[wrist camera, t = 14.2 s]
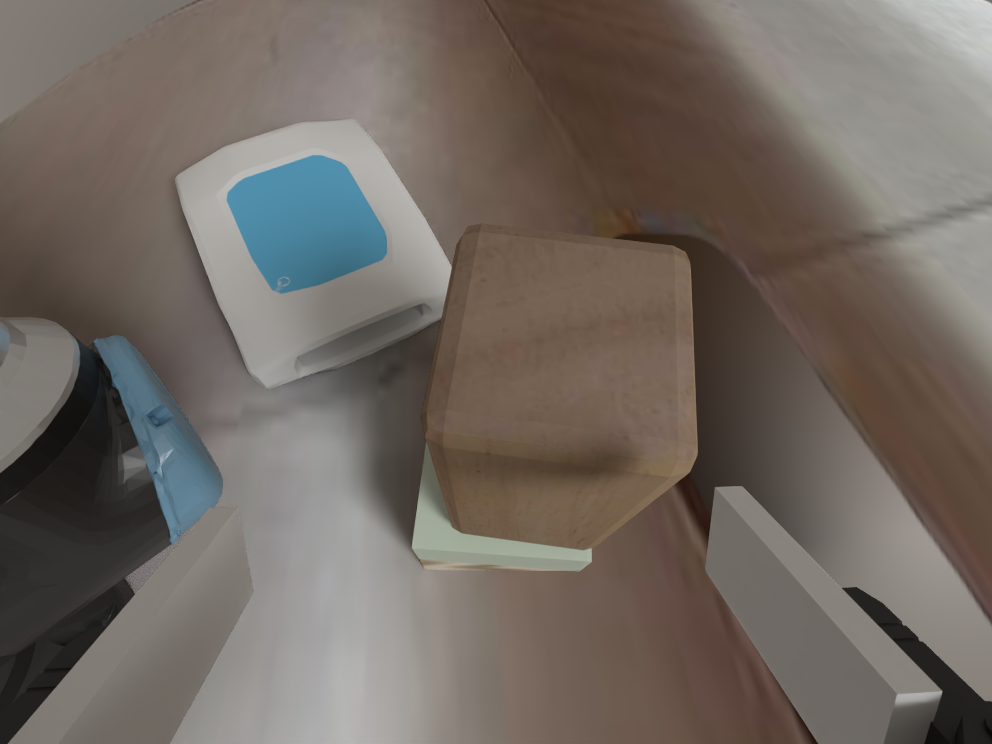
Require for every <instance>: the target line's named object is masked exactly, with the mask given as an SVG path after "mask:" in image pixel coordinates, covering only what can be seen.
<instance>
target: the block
mask: <svg viewBox="0 0 992 744" xmlns="http://www.w3.org/2000/svg"><path fill="white" fill-rule="evenodd" d="M692 319H693V318H692V292H691V272H690V261H689V259H688V257H687V255H686V253H685V251H682V250H680V249H678V248H676V247H674V246H671V245H663V244H654V243H645V242H637V241H628V240H619V239H611V238H602V237H594V236H585V235H576V234H568V233H559V232H550V231H542V230H533V229H524V228H516V227H507V226H499V225H490V224H477V225H473V226H468V227H467V229H466V230H465V232H464V233H463V235H462V237H461V238H460V240H459V242H458V243H457V245H456V250H455V255H454V260H453V265H452V269H451V274H450V279H449V284H448V289H447V293H446V298H445V303H444V308H443V313H442V318H441V322H440V327H439V332H438V337H437V342H436V347H435V351H434V356H433V361H432V366H431V371H430V375H429V380H428V385H427V390H426V395H425V400H424V404H423V409H422V414H421V421H422V425H423V430H424V434H425V438H426V442H427V445H428V448H429V452H430V455H431V458H432V462H433V465H434V469H435V472H436V475H437V479H438V482H439V485H440V489H441V492H442V496H443V499H444V502H445V506H446V509H447V512H448V516H449V519H450V523H451V526H452V528H454V529H455V530H457V531H459V532H460V533H462V534H469V535H476V536H483V537H490V538H498V539H505V540H512V541H519V542H526V543H534V544H541V545H548V546H555V547H562V548H570V549H577V550H586V549H590V548H593V547H595V546H597V545H598V544H599V543H600V542H602V541H603V540H604V539H605V538H607V537H608V536H609V535H611V534H612V533H613V532H614V531H616V530H617V529H618V528H619V527H621V526H622V525H623V524H624V523H626V522H627V521H628V520H630V519H631V518H632V517H633V516H635V515H636V514H637V513H638V512H640V511H641V510H642V509H644V508H645V507H646V506H647V505H649V504H650V503H651V502H652V501H654V500H655V499H656V498H657V497H659V496H660V495H661V494H663V493H664V492H665V491H666V490H668V489H669V488H670V487H671V486H673V485H674V484H675V483H677V482H678V481H679V480H680V479H682V478H683V477H684V476H685V475H687V474H688V473H689V472H690V471H691V469H692V466H693V464H694V461H695V459H696V457H697V454H698V447H697V422H696V421H697V420H696V398H695V397H696V396H695V369H694V344H693V320H692Z"/></svg>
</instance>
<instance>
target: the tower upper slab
mask: <svg viewBox="0 0 992 744" xmlns="http://www.w3.org/2000/svg"><path fill="white" fill-rule="evenodd" d="M412 549H413V551H414V552H415V554H416V555H417V557H418V558H419V559H422V560H435V561H449V562H462V563H475V564H488V565H502V566H515V567H528V568H541V569H555V570H568V571H581V570H582V569H583V568H584V567H586V566H587V565H588V564H589V563H591V562H592V549H591V548H590V549H586V550H577V549H570V548H562V547H555V546H548V545H541V544H534V543H526V542H519V541H512V540H505V539H498V538H490V537H483V536H476V535H469V534H462V533H460V532H459V531H457V530H455V529H454V528H452V526H451V523H450V519H449V516H448V512H447V509H446V506H445V502H444V499H443V496H442V492H441V489H440V485H439V482H438V479H437V475H436V472H435V469H434V465H433V462H432V458H431V455H430V452H429V448H428V445H427V442H426V446H425V453H424V461H423V468H422V475H421V483H420V490H419V497H418V505H417V512H416V519H415V527H414V534H413V541H412Z"/></svg>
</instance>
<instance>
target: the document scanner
mask: <svg viewBox="0 0 992 744" xmlns="http://www.w3.org/2000/svg"><path fill="white" fill-rule="evenodd" d="M175 184H176V188H177V191H178V195H179V198H180V202H181V205H182V209H183V212H184V214H185V217H186V220H187V222H188V225H189V228H190V230H191V233H192V236H193V238H194V241H195V244H196V246H197V249H198V251H199V254H200V257H201V259H202V262H203V265H204V267H205V270H206V273H207V275H208V278H209V280H210V283H211V286H212V288H213V291H214V294H215V296H216V299H217V302H218V304H219V306H220V308H221V310H222V312H223V314H224V316H225V318H226V320H227V322H228V324H229V326H230V328H231V330H232V332H233V335H234V337H235V340H236V342H237V345H238V347H239V350H240V353H241V355H242V358H243V360H244V363H245V365H246V368H247V370H248V372H249V373H250V375H251V376H252V377H253V378H254V379H255V381H256V382H257V383H258V384H259V385H260V386H262V387H264V388H266V389H268V390H271V389H273V388H276V387H278V386H280V385H283V384H285V383H288V382H290V381H293V380H296V379H300V378H303V377H307V376H310V375H314V374H317V373H320V372H324V371H326V370H336V369H338V368H341V367H343V366H345V365H348V364H350V363H352V362H354V361H357V360H359V359H361V358H364V357H366V356H368V355H370V354H373V353H375V352H377V351H379V350H382V349H384V348H386V347H389V346H391V345H393V344H395V343H398V342H400V341H402V340H404V339H407V338H409V337H411V336H413V335H415V334H417V333H418V332H420V331H421V330H423V329H425V328H426V327H428V326H430V325H431V324H433V323H435V322H436V321H438V320H440V319H441V318H442V313H443V308H444V303H445V298H446V293H447V289H448V284H449V279H450V274H451V269H452V266H451V265H450V263H449V261H448V259H447V257H446V256H445V254H444V252H443V250H442V248H441V247H440V245H439V243H438V241H437V239H436V238H435V236H434V234H433V232H432V230H431V229H430V227H429V225H428V223H427V221H426V220H425V218H424V216H423V215H422V213H421V212H420V210H419V209H418V207H417V206H416V204H415V202H414V201H413V199H412V198H411V196H410V195H409V193H408V192H407V190H406V188H405V187H404V185H403V184H402V182H401V181H400V179H399V178H398V176H397V174H396V173H395V171H394V170H393V168H392V167H391V165H390V164H389V162H388V160H387V159H386V157H385V156H384V154H383V153H382V151H381V150H380V149H379V147H378V146H377V145H376V143H375V142H374V141H373V140H372V138H371V137H370V136H369V135H368V133H367V132H366V131H365V130H364V128H363V127H362V126H361V125H360V123H359V122H358V121H356V120H354V119H338V120H325V121H312V122H299V123H296V124H293V125H290V126H287V127H284V128H281V129H277V130H274V131H271V132H268V133H265V134H262V135H258V136H255V137H252V138H249V139H246V140H243V141H240V142H236V143H233V144H230V145H227V146H224V147H223V148H221V149H219V150H218V151H216V152H214V153H213V154H211V155H209V156H208V157H206V158H204V159H203V160H201V161H199V162H198V163H196V164H194V165H193V166H191V167H189V168H188V169H186V170H184V171H182V172H181V173H179V174H178V175H177V177H176V179H175Z"/></svg>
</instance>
